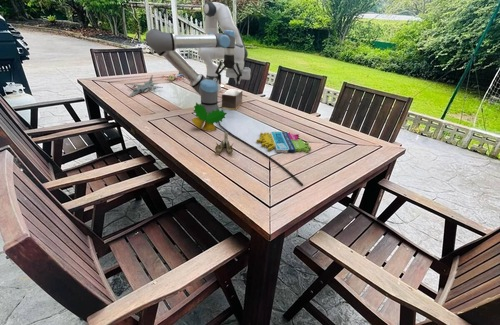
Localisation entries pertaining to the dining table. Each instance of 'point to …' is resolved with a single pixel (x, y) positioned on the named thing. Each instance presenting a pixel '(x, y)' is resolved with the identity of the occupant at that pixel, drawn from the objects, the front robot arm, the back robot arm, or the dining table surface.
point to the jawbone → (224, 145)
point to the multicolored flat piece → (283, 142)
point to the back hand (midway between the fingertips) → (237, 84)
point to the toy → (174, 77)
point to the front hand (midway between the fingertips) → (228, 84)
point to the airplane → (144, 87)
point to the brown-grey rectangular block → (232, 99)
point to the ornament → (207, 117)
